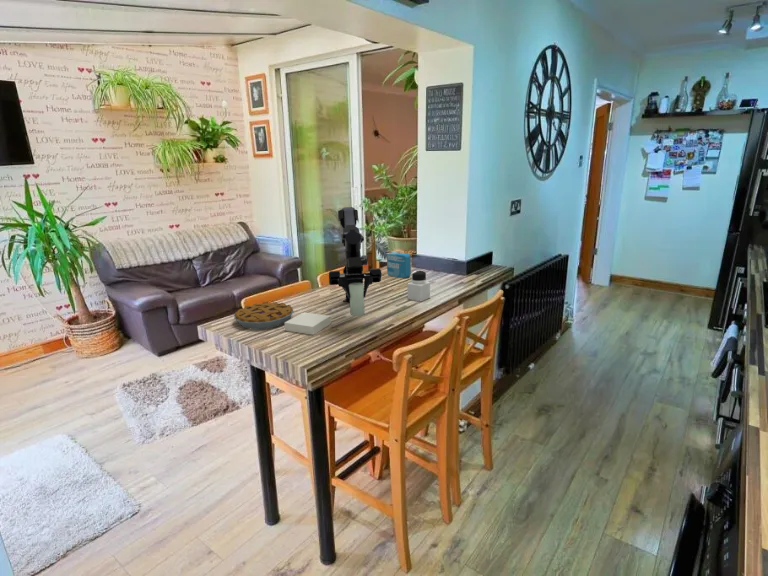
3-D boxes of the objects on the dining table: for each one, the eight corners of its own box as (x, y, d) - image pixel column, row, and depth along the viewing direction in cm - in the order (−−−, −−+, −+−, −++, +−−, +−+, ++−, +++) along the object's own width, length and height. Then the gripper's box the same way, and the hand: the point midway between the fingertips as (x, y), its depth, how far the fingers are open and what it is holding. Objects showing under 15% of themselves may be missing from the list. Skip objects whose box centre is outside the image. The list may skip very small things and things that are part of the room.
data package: (387, 275, 233) (386, 253, 229) (392, 273, 236) (391, 251, 233) (406, 278, 226) (405, 255, 222) (410, 276, 229) (410, 253, 226)
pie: (270, 308, 186) (269, 296, 184) (305, 318, 172) (304, 306, 171) (223, 323, 169) (222, 310, 168) (258, 335, 156) (256, 322, 155)
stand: (304, 319, 170) (303, 312, 169) (331, 323, 165) (330, 315, 164) (285, 330, 160) (284, 322, 159) (313, 334, 155) (312, 326, 154)
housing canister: (353, 311, 162) (352, 282, 159) (366, 312, 160) (365, 283, 157) (348, 315, 157) (346, 285, 154) (361, 316, 156) (360, 286, 153)
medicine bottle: (430, 297, 193) (430, 271, 190) (420, 301, 188) (420, 274, 185) (416, 295, 197) (416, 268, 194) (407, 299, 192) (407, 272, 189)
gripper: (327, 248, 155) (329, 287, 147) (380, 246, 157) (385, 284, 150) (328, 265, 165) (330, 303, 157) (378, 263, 167) (382, 299, 159)
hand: (357, 297), depth 156 cm, fingers closed on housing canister, 5 cm apart
